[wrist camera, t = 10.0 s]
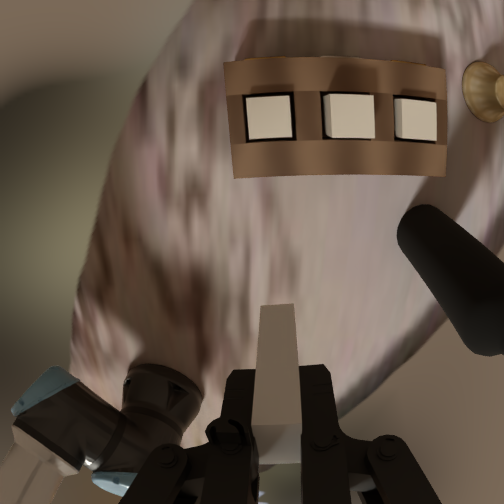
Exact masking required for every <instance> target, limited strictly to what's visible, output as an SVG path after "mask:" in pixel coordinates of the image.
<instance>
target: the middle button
mask: <svg viewBox="0 0 504 504" xmlns="http://www.w3.org/2000/svg"><path fill="white" fill-rule="evenodd" d="M323 113H324V134H326V135H328V136H330V137H332V138H375V120H374V96H373V95H353V94H328V95H326V96H323Z"/></svg>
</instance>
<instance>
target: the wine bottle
mask: <svg viewBox="0 0 504 504" xmlns="http://www.w3.org/2000/svg"><path fill="white" fill-rule="evenodd" d="M397 240H398V245H399V246H400V248H401V250H402V252H403V253H404V254H405V256H406V257H407V258H408V260H409V261H410V262H411V264H412V265H413V266H414V268H415V269H416V271H417V272H418V273H419V275H420V276H421V278H422V279H423V281H424V282H425V283H426V285H427V286H428V288H429V289H430V291H431V292H432V294H433V295H434V297H435V298H436V300H437V301H438V303H439V304H440V306H441V307H442V309H443V310H444V312H445V313H446V315H447V316H448V318H449V319H450V321H451V323H452V324H453V326H454V327H455V329H456V331H457V332H458V334H459V336H460V337H461V339H462V341H463V342H464V344H465V345H466V346H467V347H468V348H469V349H470V350H471V351H472V352H474V353H475V354H479V355H483V356H494V355H499V354H503V355H504V263H503V262H502V261H501V260H500V259H499V258H498V257H497V256H495V255H494V254H493V253H492V252H491V251H490V250H489V249H487V248H486V247H485V246H484V245H483V244H482V243H480V242H479V241H478V240H477V239H476V238H474V237H473V236H472V235H471V234H470V233H468V232H467V231H466V230H465V229H463V228H462V227H461V226H460V225H458V224H457V223H456V222H455V221H453V220H452V219H451V218H449V217H448V216H447V215H446V214H444V213H443V212H442V211H440V210H439V209H438V208H436V207H434V206H431V205H419V206H416V207H413V208H412V209H411V210H409V211H408V212H407V213H406V214H405V215H404V216H403V218H402V219H401V221H400V223H399V226H398V230H397Z"/></svg>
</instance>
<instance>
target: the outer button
mask: <svg viewBox="0 0 504 504" xmlns="http://www.w3.org/2000/svg"><path fill="white" fill-rule="evenodd" d="M393 109H394V136H396V137H400V138H408V139H422V140H433V141H437V113H436V103H435V102H427V101H419V100H410V99H393Z"/></svg>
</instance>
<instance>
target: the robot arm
mask: <svg viewBox="0 0 504 504" xmlns="http://www.w3.org/2000/svg"><path fill="white" fill-rule="evenodd" d="M201 403H202V396H201V393H200V391H199V389H198V388H197V387H196V385H195V384H194V383H193V382H192V381H191V380H189V379H188V378H187V377H185V376H184V375H182V374H180V373H179V372H177V371H174V370H172V369H170V368H167V367H163V366H159V365H153V364H143V365H138V366H135V367H134V368H132V369H131V370H130V371H129V372H128V374H127V376H126V378H125V380H124V384H123V397H122V409H121V411H119V410H117V409H116V408H114V407H113V406H112V405H110V404H109V403H107V402H106V401H105V400H103V399H102V398H101V397H99V396H98V395H97V394H95V393H94V392H93V391H91V390H90V389H89V388H88V387H87V386H85V385H84V384H83V383H82V382H80V380H79V379H78V378H75V377H74V376H73V375H71V374H70V373H69V372H67V371H66V370H65V369H63V368H62V367H60V366H52V367H50V368H49V369H47V370H46V371H45V372H44V373H43V374H42V375H41V376H40V377H39V378H38V379H37V380H36V381H35V382H34V383H33V384H32V385H31V386H30V387H29V389H28V390H27V391H26V392H25V393H24V394H23V395H22V397H21V398H20V399H19V400H18V401H17V402H16V403H15V404H14V405H13V406H12V408H11V412H12V413H13V415H14V416H15V417H17V418H16V420H15V422H14V423H13V425H12V430H13V434H14V443H13V445H12V447H11V448H10V450H9V452H8V453H7V455H6V457H5V459H4V460H3V462H2V464H1V466H0V504H51V502H52V500H53V498H54V496H55V494H56V492H57V490H58V488H59V486H60V484H61V482H62V480H63V478H64V477H65V476H67V475H73V474H78V472H79V470H80V468H81V467H82V465H83V466H85V467H87V468H88V469H90V470H91V471H93V473H92V475H91V476H92V481H93V483H95V484H96V485H98V486H99V487H100V488H102V489H104V490H106V491H108V492H111V493H114V494H116V495H120V496H123V497H122V499H121V500H120V502H119V504H258V496H259V480H260V477H259V472H258V469H259V463H260V464H285V463H301V504H351V496H350V490H353V491H357V493H358V495H359V497H360V500H361V502H362V504H442V503H441V502H440V500H439V498H438V496H437V495H436V493H435V491H434V489H433V488H432V486H431V484H430V483H429V481H428V480H427V478H426V476H425V474H424V473H423V471H422V469H421V468H420V466H419V464H418V462H417V461H416V459H415V458H414V456H413V454H412V453H411V451H410V449H409V448H408V446H407V444H406V443H405V442H404V441H403V440H402V439H401V438H399V437H397V436H395V435H383V436H379V437H377V438H376V439H374V440H373V441H365V440H357V439H353V438H351V437H349V436H347V435H346V434H345V433H343V432H342V430H341V429H340V427H339V424H338V417H337V411H336V404H335V398H334V393H333V386H332V380H331V374H330V372H329V370H328V369H327V368H326V367H325V365H324V364H319V365H307V366H299V365H298V351H297V338H296V325H295V313H294V304H280V305H264V306H261V309H260V322H259V335H258V348H257V361H256V369H244V370H233V371H232V373H231V374H230V375H229V377H228V378H227V381H226V387H225V393H224V400H223V404H222V410H221V416H220V418H217V419H215V420H213V421H212V422H211V423H210V424H209V425H208V426H207V428H206V430H205V433H206V436H207V438H208V440H209V442H207V443H206V444H204V445H200V446H197V447H192V448H187V449H183V448H182V447H180V444H181V440H182V436H183V433H184V432H185V431H186V429H187V428H188V427H189V425H190V424H191V423H192V421H193V420H194V419H195V417H196V416H197V415H198V413H199V411H200V407H201Z"/></svg>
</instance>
